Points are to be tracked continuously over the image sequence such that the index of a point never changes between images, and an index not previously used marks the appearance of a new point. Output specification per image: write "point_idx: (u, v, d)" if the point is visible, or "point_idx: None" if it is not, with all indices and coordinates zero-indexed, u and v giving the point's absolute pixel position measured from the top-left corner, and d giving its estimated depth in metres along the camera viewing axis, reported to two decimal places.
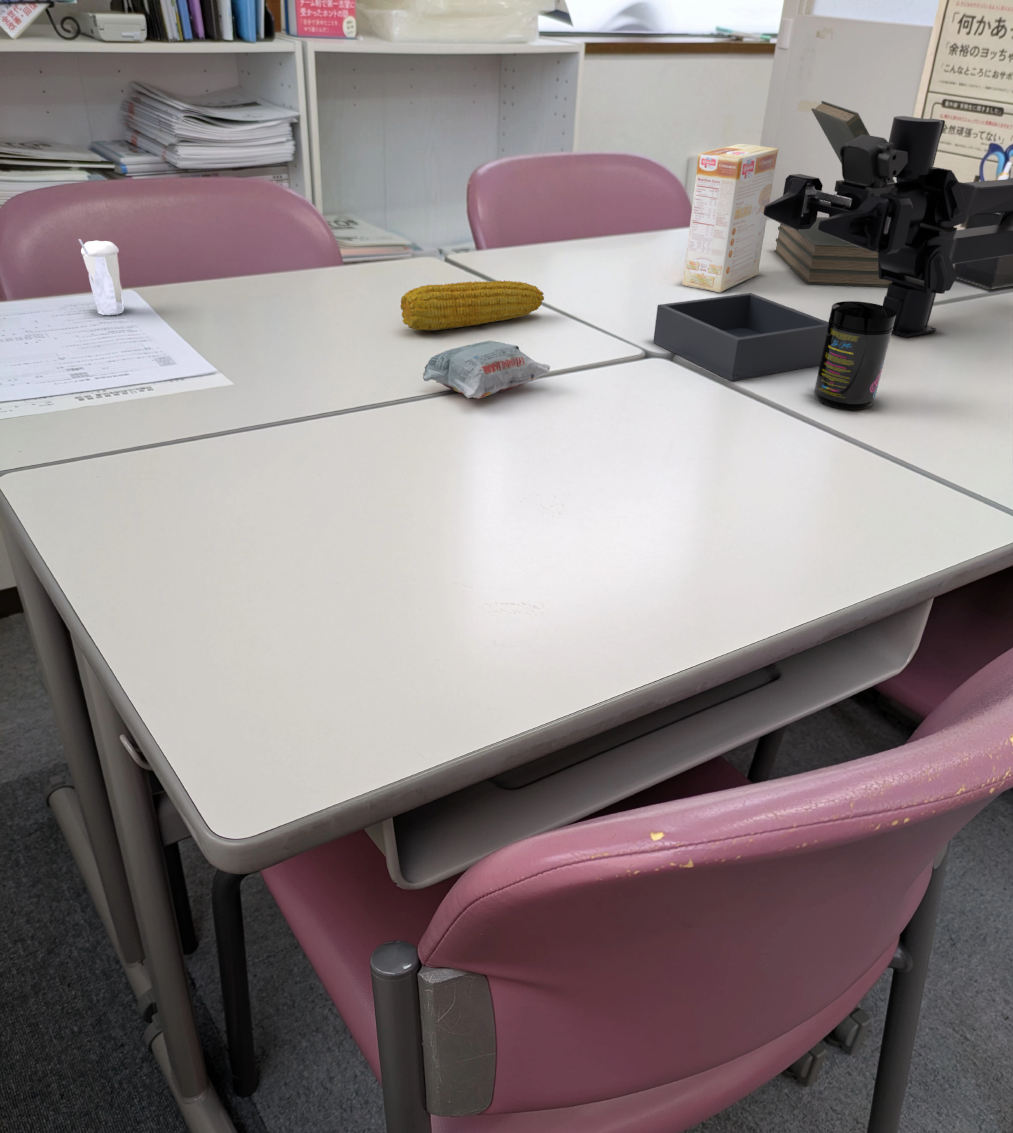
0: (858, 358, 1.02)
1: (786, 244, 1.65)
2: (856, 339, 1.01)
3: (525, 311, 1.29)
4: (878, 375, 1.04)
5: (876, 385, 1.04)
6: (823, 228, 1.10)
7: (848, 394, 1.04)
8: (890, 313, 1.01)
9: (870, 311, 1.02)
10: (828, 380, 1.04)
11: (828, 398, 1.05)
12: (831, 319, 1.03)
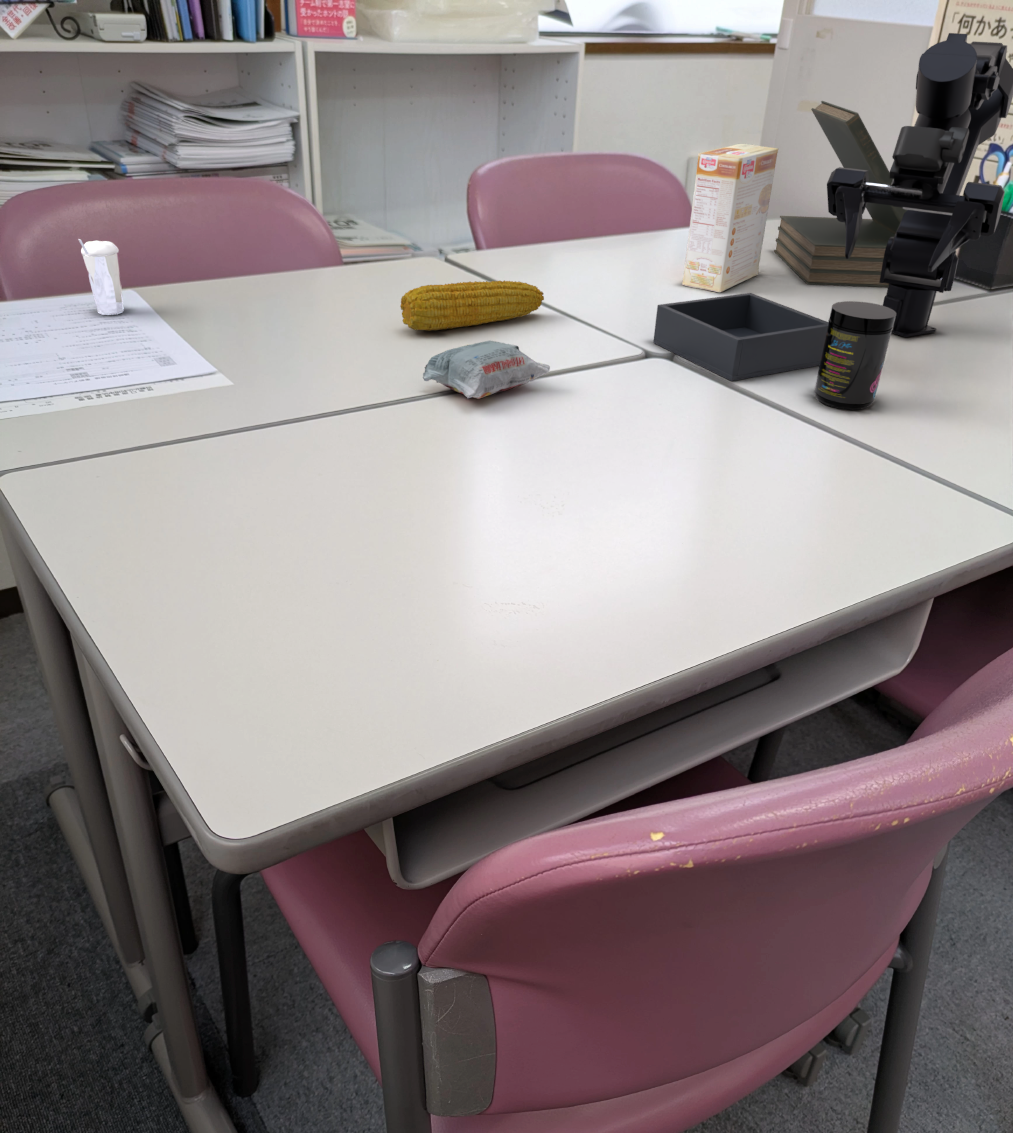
0: (858, 358, 1.02)
1: (786, 244, 1.65)
2: (856, 339, 1.01)
3: (525, 311, 1.29)
4: (878, 375, 1.04)
5: (876, 385, 1.04)
6: (933, 268, 1.05)
7: (848, 394, 1.04)
8: (890, 313, 1.01)
9: (870, 311, 1.02)
10: (828, 380, 1.04)
11: (828, 398, 1.05)
12: (831, 319, 1.03)
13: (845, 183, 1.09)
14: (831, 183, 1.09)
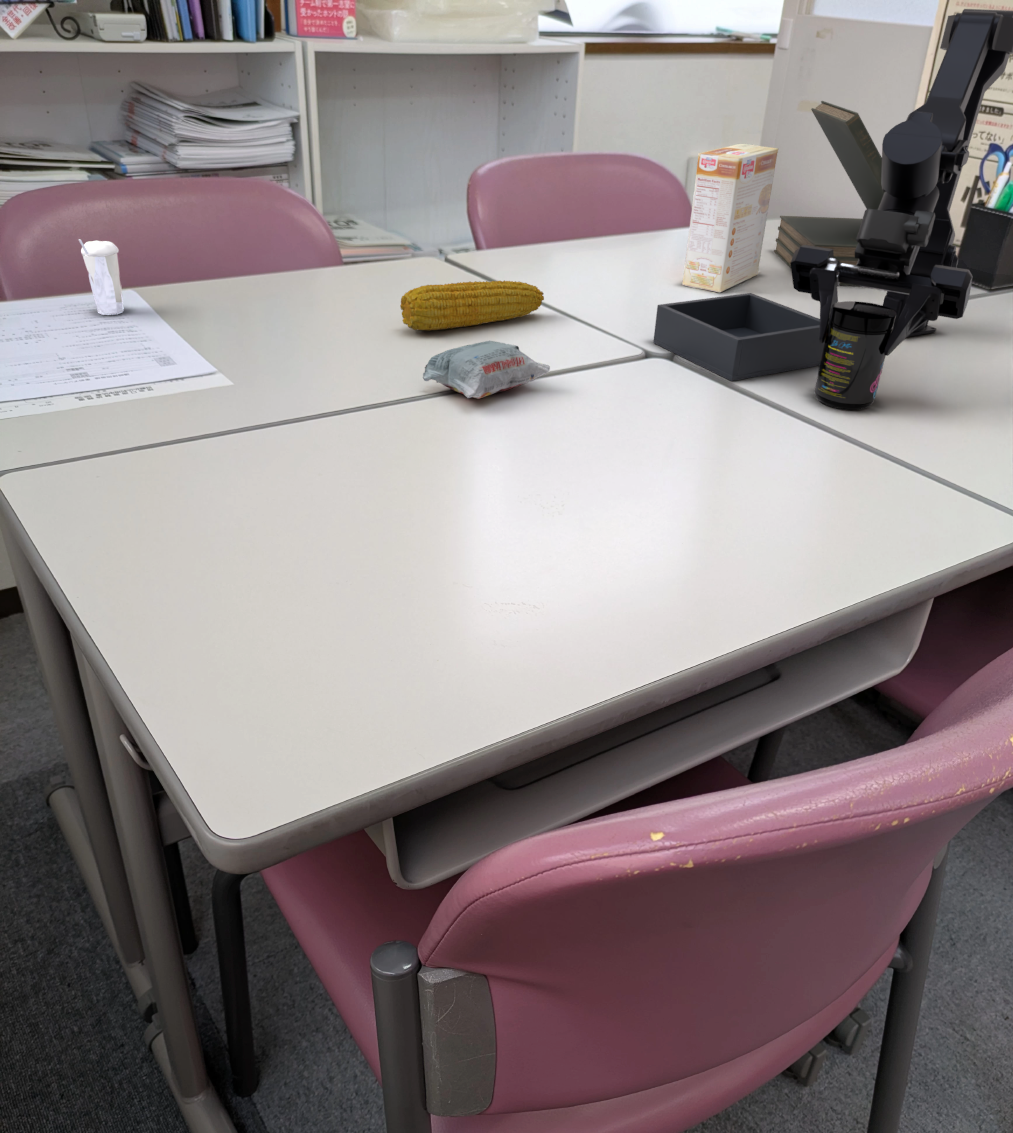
0: (858, 358, 1.02)
1: (786, 244, 1.65)
2: (856, 339, 1.01)
3: (525, 311, 1.29)
4: (878, 375, 1.04)
5: (876, 385, 1.04)
6: (889, 352, 1.02)
7: (848, 394, 1.04)
8: (890, 313, 1.01)
9: (870, 311, 1.02)
10: (828, 380, 1.04)
11: (828, 398, 1.05)
12: (831, 319, 1.03)
13: (809, 263, 1.05)
14: (795, 262, 1.06)
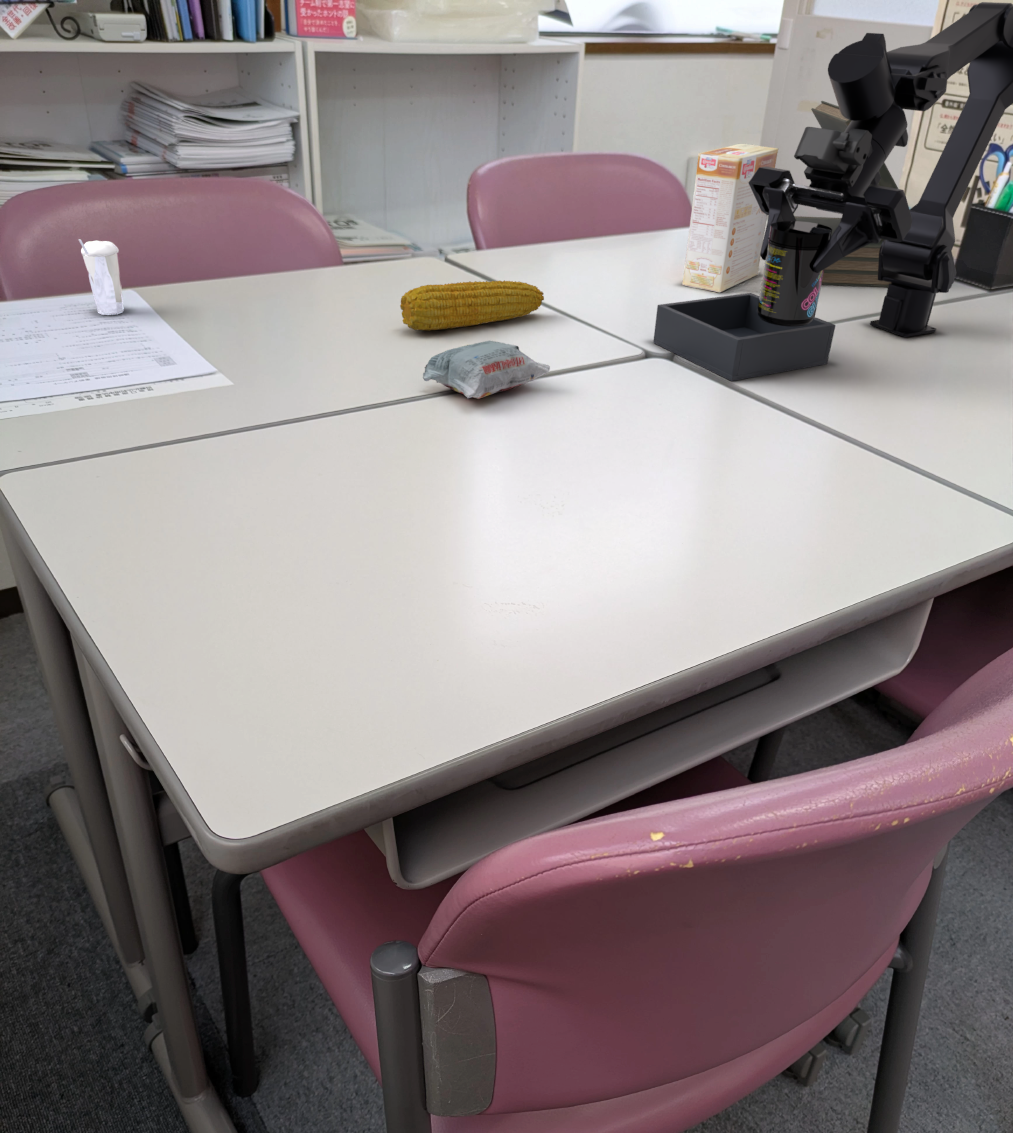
0: (787, 272, 1.05)
1: None
2: (784, 253, 1.05)
3: (525, 311, 1.29)
4: (811, 293, 1.07)
5: (810, 303, 1.07)
6: (819, 269, 1.05)
7: (778, 309, 1.08)
8: (824, 231, 1.04)
9: (806, 228, 1.05)
10: (763, 295, 1.09)
11: (762, 313, 1.09)
12: (769, 235, 1.07)
13: (762, 182, 1.09)
14: (751, 182, 1.11)
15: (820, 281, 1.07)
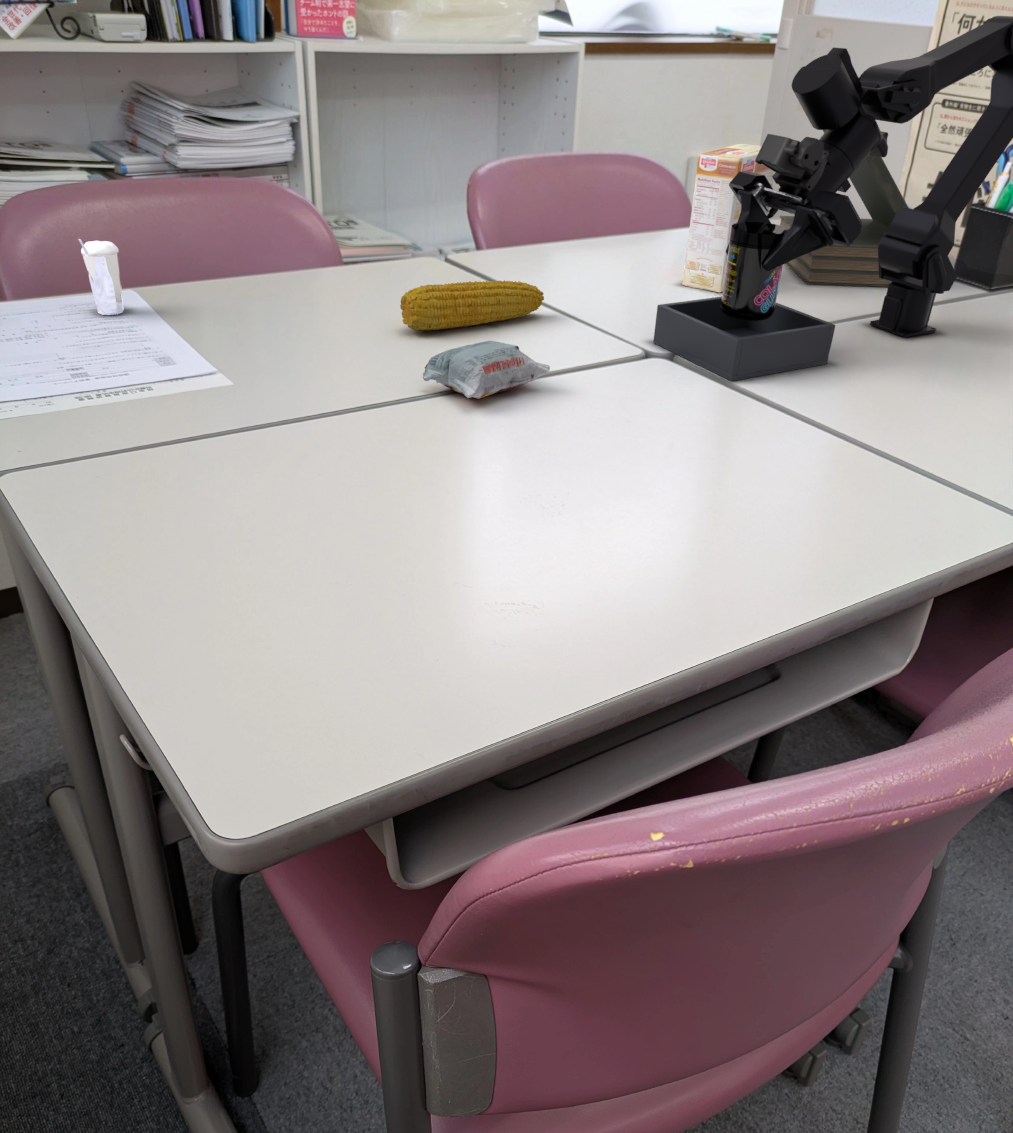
0: (740, 269, 1.13)
1: None
2: (737, 251, 1.12)
3: (525, 311, 1.29)
4: (764, 289, 1.14)
5: (763, 299, 1.14)
6: (770, 267, 1.12)
7: (733, 303, 1.15)
8: (777, 232, 1.11)
9: (762, 229, 1.12)
10: (723, 289, 1.17)
11: (722, 306, 1.17)
12: None
13: (738, 185, 1.17)
14: (730, 185, 1.19)
15: (775, 279, 1.14)
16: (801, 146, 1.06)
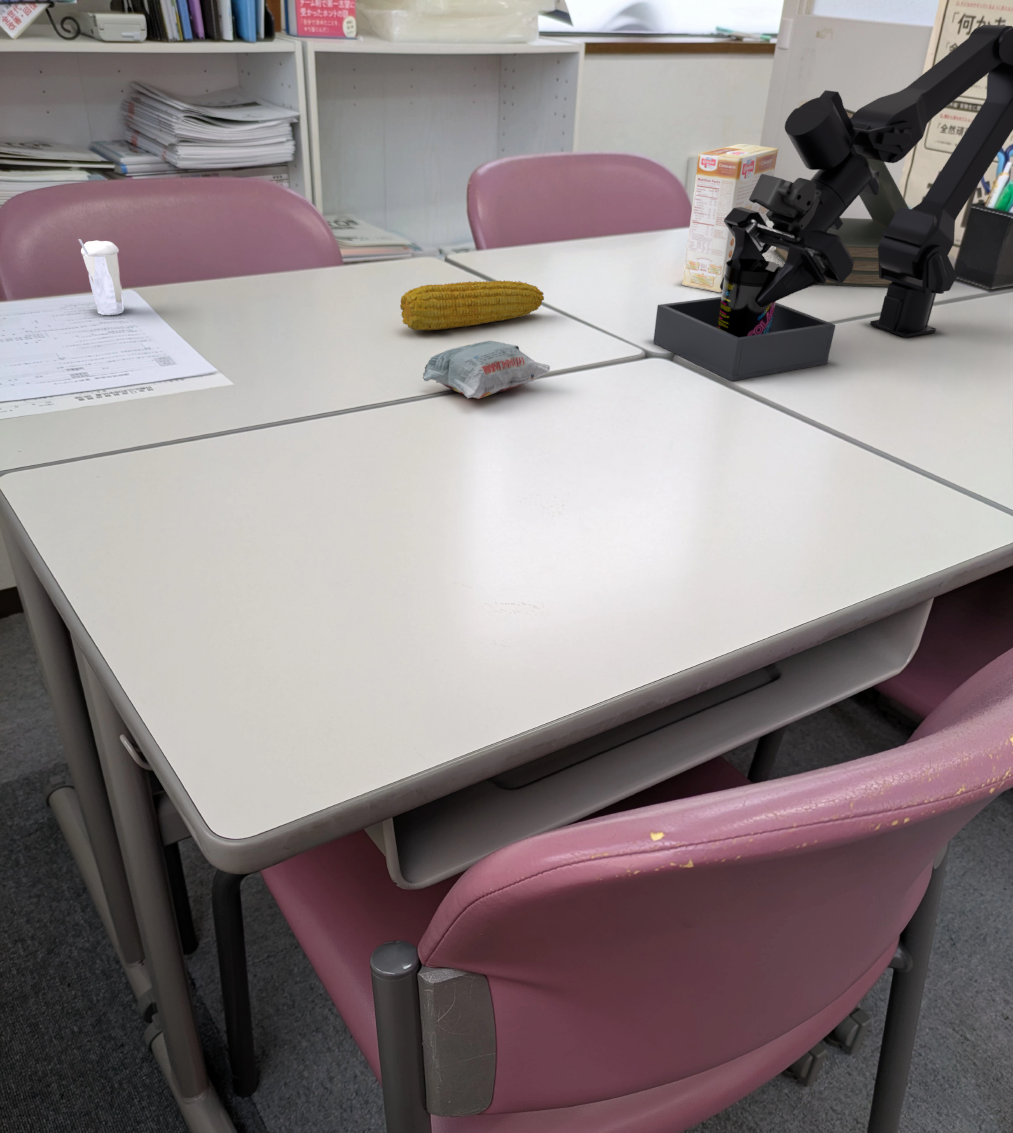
0: (734, 305, 1.15)
1: None
2: (732, 288, 1.15)
3: (525, 311, 1.29)
4: (757, 325, 1.16)
5: None
6: (763, 304, 1.14)
7: None
8: (771, 270, 1.13)
9: (756, 266, 1.15)
10: (718, 324, 1.19)
11: None
12: None
13: (732, 222, 1.19)
14: (725, 221, 1.21)
15: (768, 315, 1.16)
16: (794, 187, 1.08)
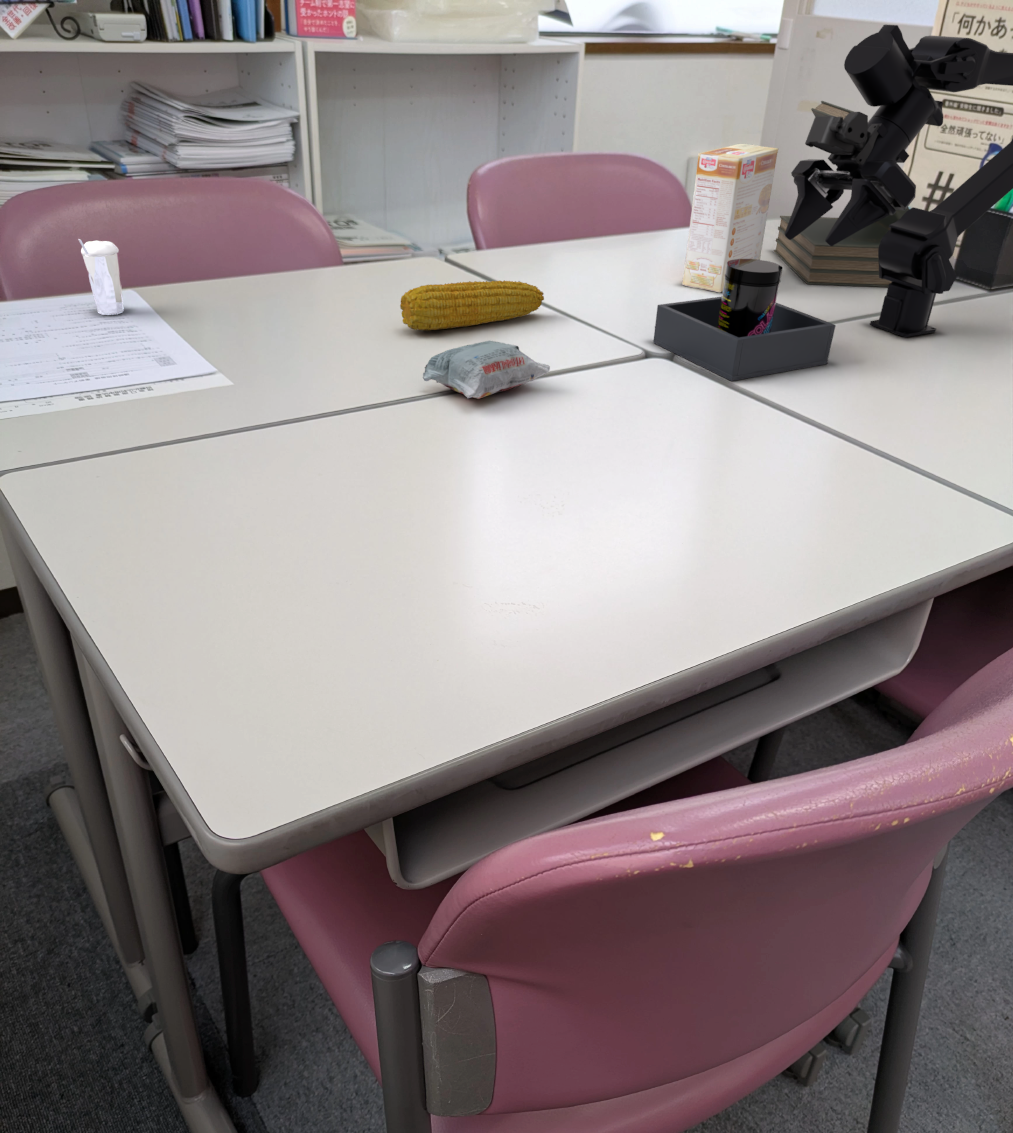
0: (734, 305, 1.15)
1: (786, 244, 1.65)
2: (732, 287, 1.15)
3: (525, 311, 1.29)
4: (757, 326, 1.16)
5: None
6: (832, 242, 1.13)
7: None
8: (771, 270, 1.13)
9: (757, 267, 1.15)
10: (718, 324, 1.19)
11: None
12: None
13: (798, 173, 1.22)
14: (792, 174, 1.23)
15: (768, 316, 1.16)
16: (844, 121, 1.10)
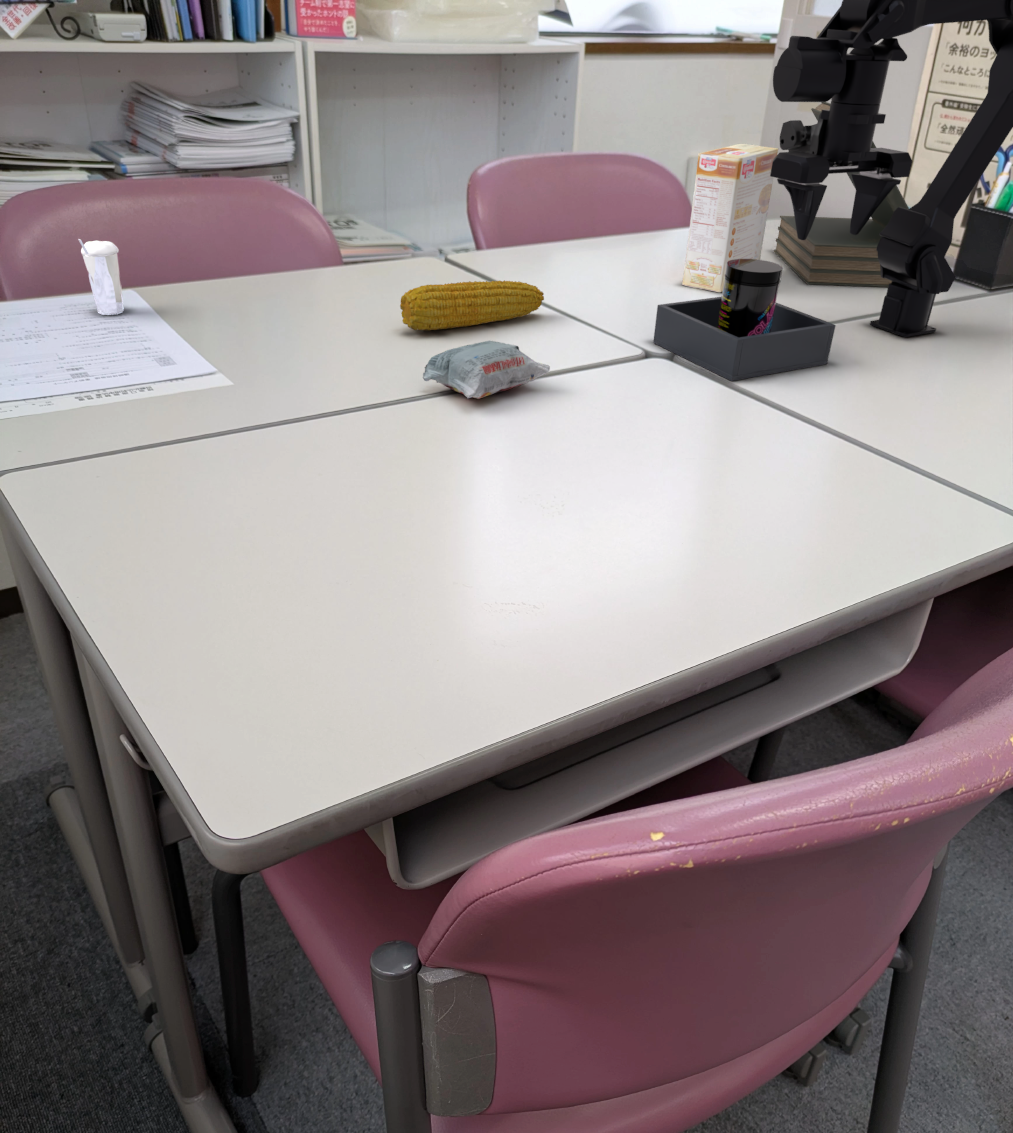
0: (734, 305, 1.15)
1: (786, 244, 1.65)
2: (732, 287, 1.15)
3: (525, 311, 1.29)
4: (757, 326, 1.16)
5: None
6: (801, 236, 1.19)
7: None
8: (771, 270, 1.13)
9: (757, 267, 1.15)
10: (718, 324, 1.19)
11: None
12: None
13: None
14: None
15: (768, 316, 1.16)
16: None
